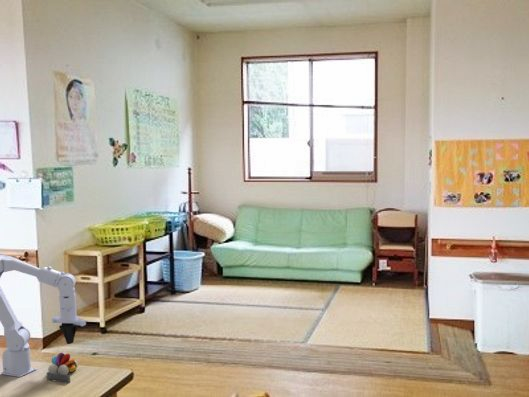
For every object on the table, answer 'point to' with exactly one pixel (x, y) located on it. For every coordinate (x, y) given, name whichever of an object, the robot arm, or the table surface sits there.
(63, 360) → the rainbow disc baby rattle
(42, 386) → the table surface
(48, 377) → the rail
